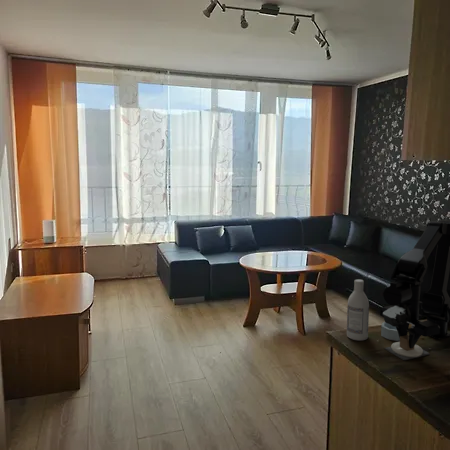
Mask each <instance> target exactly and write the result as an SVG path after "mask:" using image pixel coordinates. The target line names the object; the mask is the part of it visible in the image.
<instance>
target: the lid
mask: <svg viewBox="0 0 450 450" xmlns="http://www.w3.org/2000/svg"><path fill="white" fill-rule="evenodd" d="M390 347H391V349H392V351H393V352H395V353H396V354H399V355H402V356H406V357H417V358H419V356H421V355H422V354H423V350H424V349H423V348H422V347H421V346H420V345H418V344H417V343H416V344H415V345H414V347H413V348H409V334H407V335H404V336H400V341H395V342H393V343H392V344H391V346H390ZM421 357H422V356H421Z"/></svg>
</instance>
